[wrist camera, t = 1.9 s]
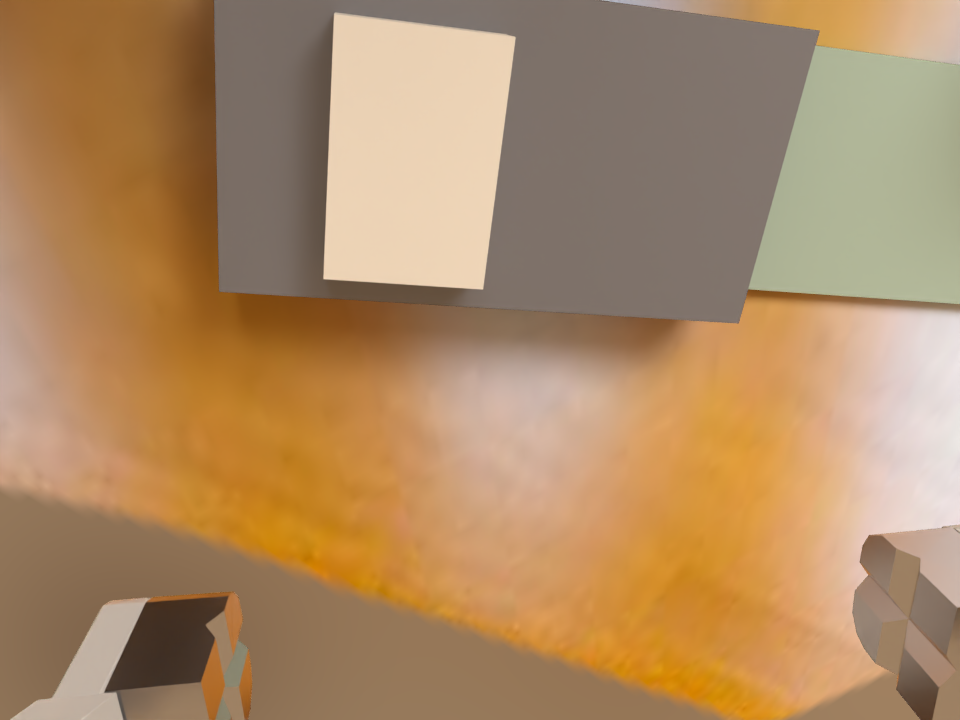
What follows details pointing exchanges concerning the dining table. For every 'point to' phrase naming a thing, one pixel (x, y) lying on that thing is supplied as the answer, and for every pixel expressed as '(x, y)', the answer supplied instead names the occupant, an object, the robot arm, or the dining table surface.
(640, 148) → the block
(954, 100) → the mat
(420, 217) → the card
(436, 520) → the dining table surface
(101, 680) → the robot arm
